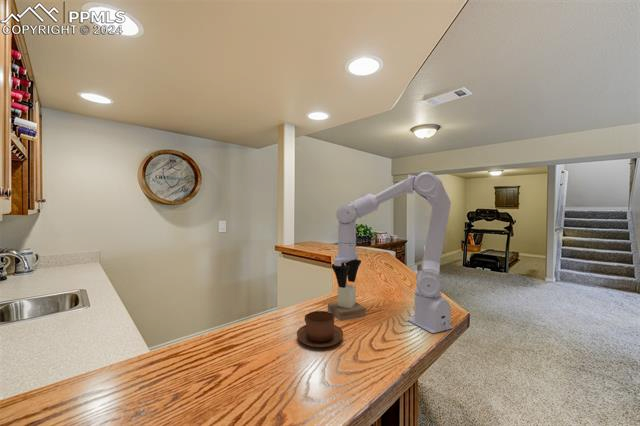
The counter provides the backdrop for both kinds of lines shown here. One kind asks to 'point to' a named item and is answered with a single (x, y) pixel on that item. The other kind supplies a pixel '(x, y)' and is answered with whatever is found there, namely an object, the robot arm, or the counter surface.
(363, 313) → the walnut slab
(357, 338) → the counter surface
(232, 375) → the counter surface
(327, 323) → the cup and saucer
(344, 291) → the sage block
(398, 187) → the robot arm
